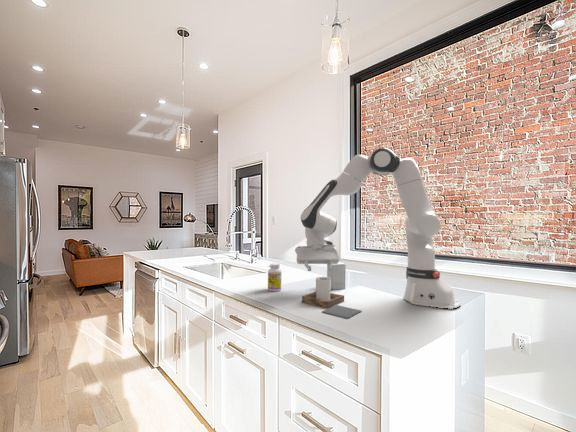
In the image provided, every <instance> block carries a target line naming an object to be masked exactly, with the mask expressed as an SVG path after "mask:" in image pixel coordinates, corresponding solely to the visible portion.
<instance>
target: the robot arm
mask: <svg viewBox="0 0 576 432" xmlns="http://www.w3.org/2000/svg"><path fill="white" fill-rule="evenodd" d="M370 174H374V175H379V176H387V175H388V174H390V175H391V176H392V177H393V180H394V181H395V185H396V189H397V192H398V195H399V200H400V202H401V205H402V206H403V208H404V211H405V213H406V216H407V218H406V219H405V223H404V224H405V234H406V235H405V236H406V237H405V238H406V244H407V245H406V246H407V266H406V270H405V271H406V272H405V279H406V285H405V290H404V295H403V298H402V299H403V300H405V301H407V302H409V303H410V304H412V305H414V306H415V305H416V306H422V307H423V306H424V307H429V306H430V307H429V308H436V307H438V309H443V308H448V309H447V310H451V309H452V308H456V307H459V306H460V307H461V305H460V304H461V301H459V300H458V299H456V298H455V293H454V290H453V288H452V287H450V285H449V284H447V283H446V282H444V280H443V279H441V278H440V275H441V271H440V270H438V269H436V263H435V262H436V250H435V247H434V242H433V236H434V237H435V236H436V235H437V234H438V233H439V231H440V230H441V225H442V224H441V221H440V219H439V218H438V216H437V214H436V211H435V209H434V206H433V205H432V203H431V200H430V198H429V196H428V194H427V189H426V187H425V184H424V180H423V177H422V174H421V171H420V168H419V166H418V164H417V163H416V161H415V160H414V158H411V157H404V158H400V157H399V156H398V155H397V154H396V153H395V152H394V151H392V150H391V149H390V148H388V147H380V148H377V149H375V150H374V151H373V152H372V154H371V155H370V156H366V155H364V154H356V155H354V156H353V157H352V158H351V159H350V161H349V162H348V163H347V164H346V165H345V167H344V169H343V170H342V172H341V173H340V175H339V176H338V177H337V178H335V179H331V180H330V181H328V183H326V184H325V186H324V187H323V188H322V190H320V192H319V193H318V194H317V195H316V197H314V199H313V201H312V202H311V203H310V204H309V205H308V206H307V207H306V208H305V209H304V210H303V211H302V213H301V215H300V221H301V224H302V226H303V227H304V231H305V233H304V234H305V239H306V242H305V243H306V246H301V245H299V246H297V247H295V249H294V251H295V254H296V263H297V264H299V265H304V267H305V268H306V270H307V272H311V271H312V266H311V265H317V264H318V265H327V264H329V265H330V266H328V271H331V270H332V264H338V262H340V260H341V258H340V253H339V251H338V248H337V247H335V245H336V243H335V242H333V241H330V240H327V239H326V238H328V237H330V236H331V235H332V234H334V233H335V232H336V230H337V226H338V223H337V219H336V217H334V216H332V215H330V214H329V213H325V212H323V211H322V209H323V207H324V206H325V204H326V203H327V202H329V200H330V199H331V198H332V197H334V196H351V195H354V194H357V193H358V192H359V191H360V190H361V188H362V186H363V184H364V182H365V181H366V179H367V178H368V176H369V175H370ZM460 307H459V308H460ZM452 310H453V309H452Z"/></svg>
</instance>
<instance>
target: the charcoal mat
mask: <svg viewBox="0 0 576 432" xmlns="http://www.w3.org/2000/svg"><path fill="white" fill-rule="evenodd" d="M321 313H323V314H326V315H327V314H328V315H330V316H335V317H339V318H343V319H346V320H349V319H350V318H352V317H354V316H357V315H358V314H360V313H362V310H361V309H360V310H359V309H356V308H352V307H347V306H343V305H339V304H337V305H335V306H332V307H330V308H325V309H323V310H322V311H321Z"/></svg>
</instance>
